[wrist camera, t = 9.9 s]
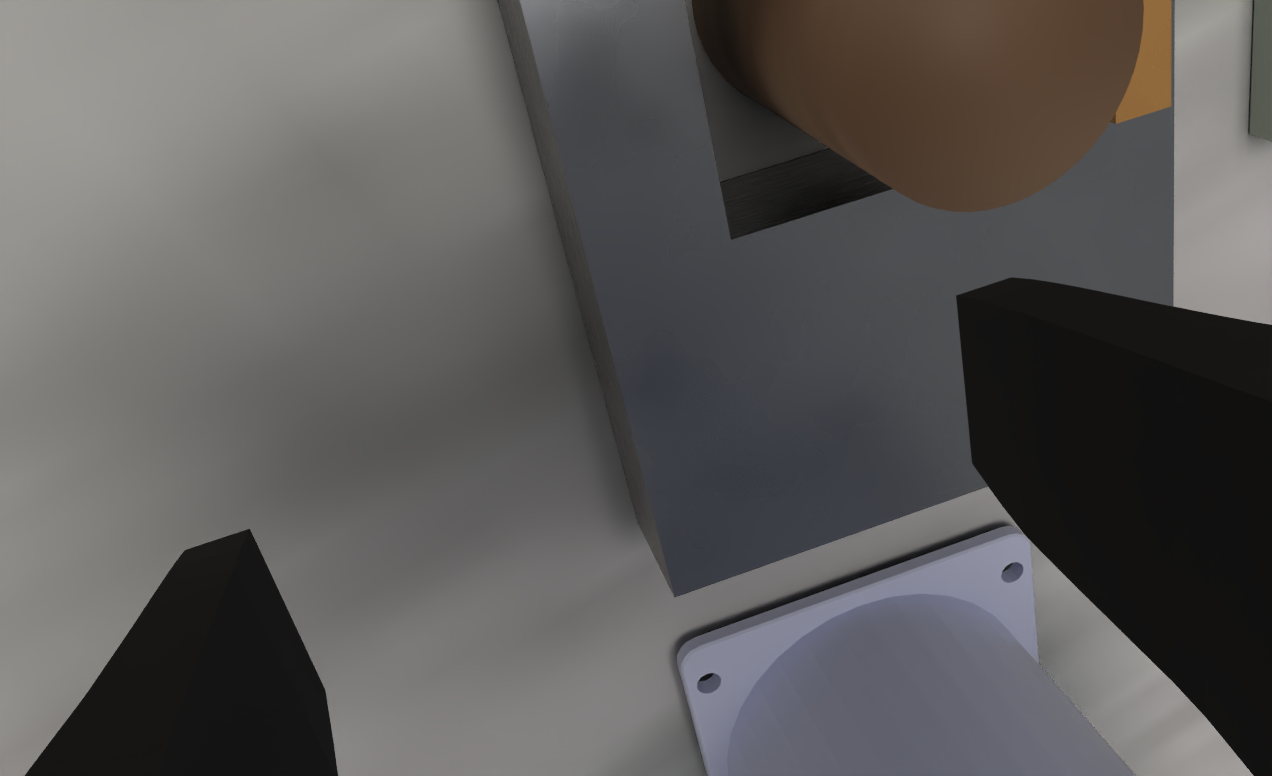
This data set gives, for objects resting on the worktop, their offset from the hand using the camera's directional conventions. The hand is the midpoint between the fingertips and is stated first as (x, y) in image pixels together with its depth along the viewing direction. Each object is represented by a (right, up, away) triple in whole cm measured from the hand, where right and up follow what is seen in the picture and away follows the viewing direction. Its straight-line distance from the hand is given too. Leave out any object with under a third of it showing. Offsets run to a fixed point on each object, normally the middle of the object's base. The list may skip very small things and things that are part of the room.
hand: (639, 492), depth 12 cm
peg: (+3, +8, +8) cm, 11 cm away
